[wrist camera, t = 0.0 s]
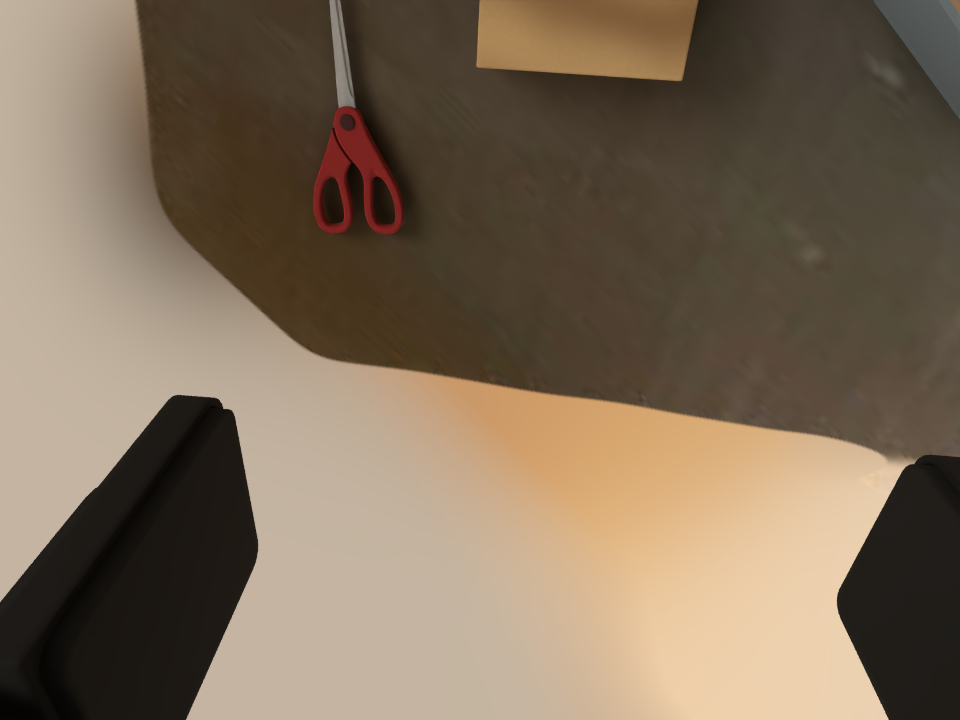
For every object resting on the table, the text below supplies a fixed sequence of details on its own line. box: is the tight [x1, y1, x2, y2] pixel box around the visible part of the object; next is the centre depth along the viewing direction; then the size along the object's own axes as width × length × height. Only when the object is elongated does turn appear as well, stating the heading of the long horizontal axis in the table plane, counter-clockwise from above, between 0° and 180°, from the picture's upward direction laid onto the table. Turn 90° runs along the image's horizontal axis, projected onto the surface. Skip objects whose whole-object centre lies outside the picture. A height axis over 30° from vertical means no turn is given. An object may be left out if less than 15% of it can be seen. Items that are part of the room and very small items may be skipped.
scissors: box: [313, 0, 404, 234], centre depth 36 cm, size 5×14×1 cm, turn 1°
